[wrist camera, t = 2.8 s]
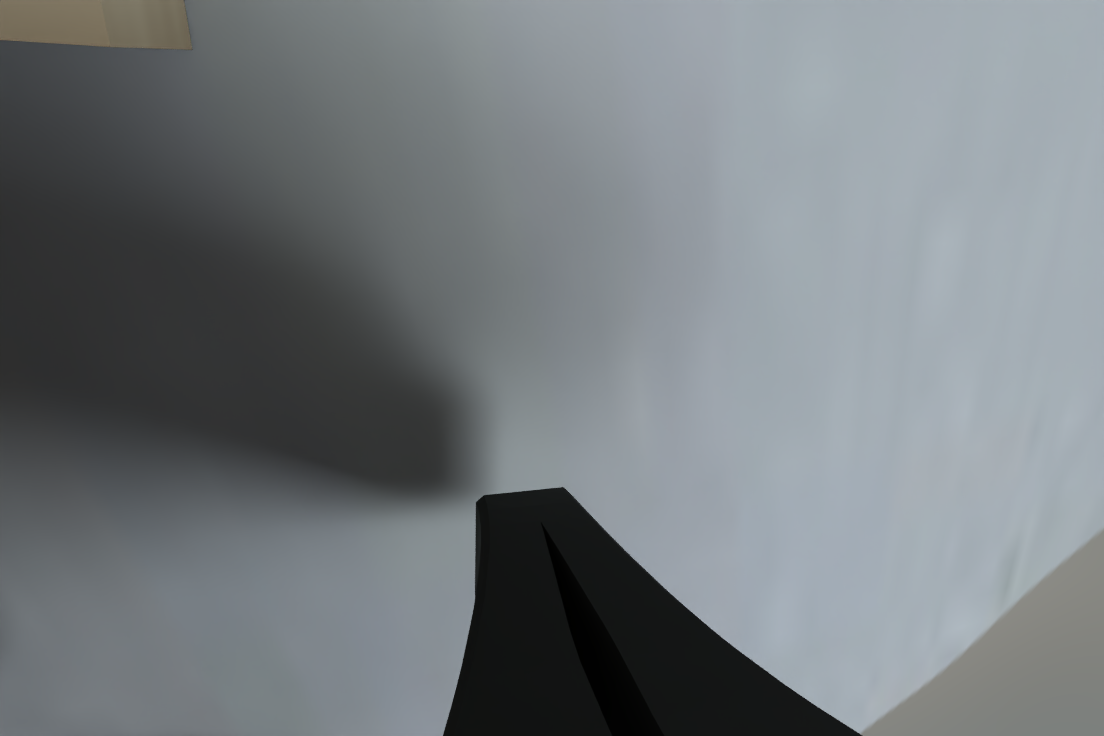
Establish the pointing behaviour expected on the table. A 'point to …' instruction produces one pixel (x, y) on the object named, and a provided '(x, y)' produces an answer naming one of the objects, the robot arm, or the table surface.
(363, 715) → the table surface
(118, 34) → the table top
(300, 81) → the table surface
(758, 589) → the table surface
